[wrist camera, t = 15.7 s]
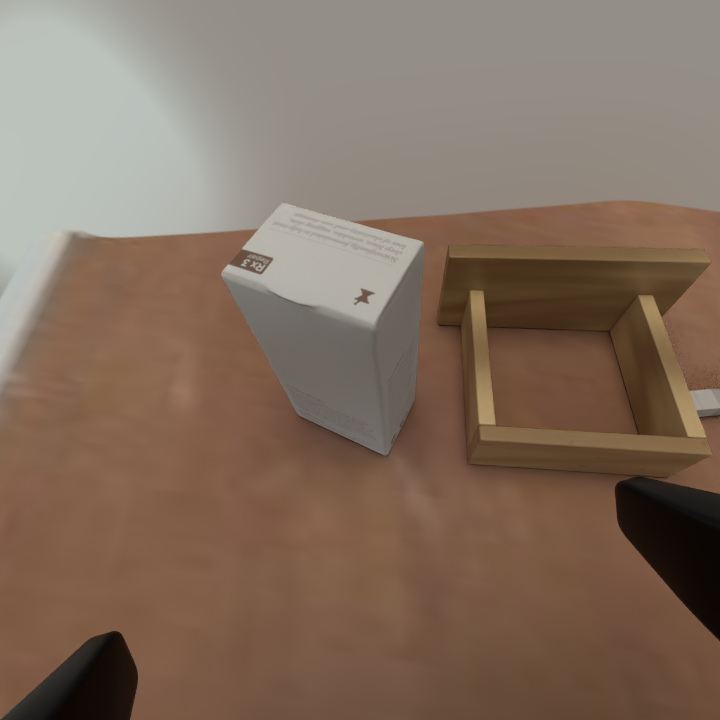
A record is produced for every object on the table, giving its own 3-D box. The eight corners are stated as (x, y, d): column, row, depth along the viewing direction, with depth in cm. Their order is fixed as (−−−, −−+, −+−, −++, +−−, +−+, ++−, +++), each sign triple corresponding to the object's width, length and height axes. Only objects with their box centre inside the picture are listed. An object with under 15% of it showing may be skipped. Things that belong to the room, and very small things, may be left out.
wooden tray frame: (699, 480, 21) (801, 436, 15) (439, 462, 22) (454, 415, 17) (643, 320, 26) (705, 248, 21) (437, 313, 27) (448, 243, 22)
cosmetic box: (417, 396, 24) (438, 233, 14) (385, 463, 22) (382, 331, 12) (326, 359, 26) (285, 191, 15) (289, 419, 24) (213, 270, 13)
